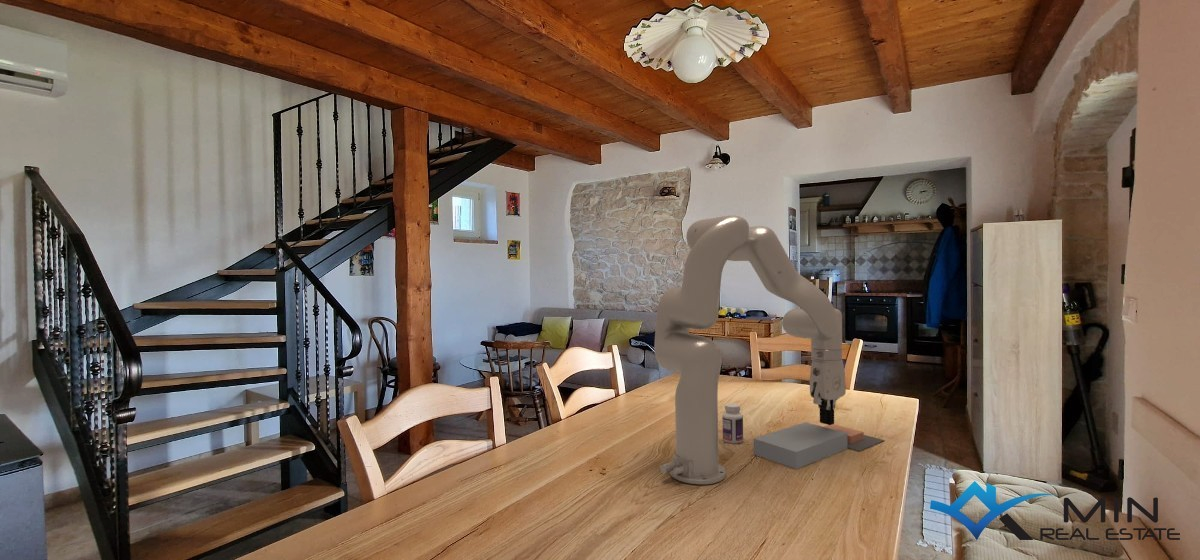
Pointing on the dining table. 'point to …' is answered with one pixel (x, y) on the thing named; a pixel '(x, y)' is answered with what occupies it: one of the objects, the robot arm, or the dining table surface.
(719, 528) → the dining table surface
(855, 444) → the mat
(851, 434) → the tile
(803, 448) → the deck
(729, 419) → the pill bottle
